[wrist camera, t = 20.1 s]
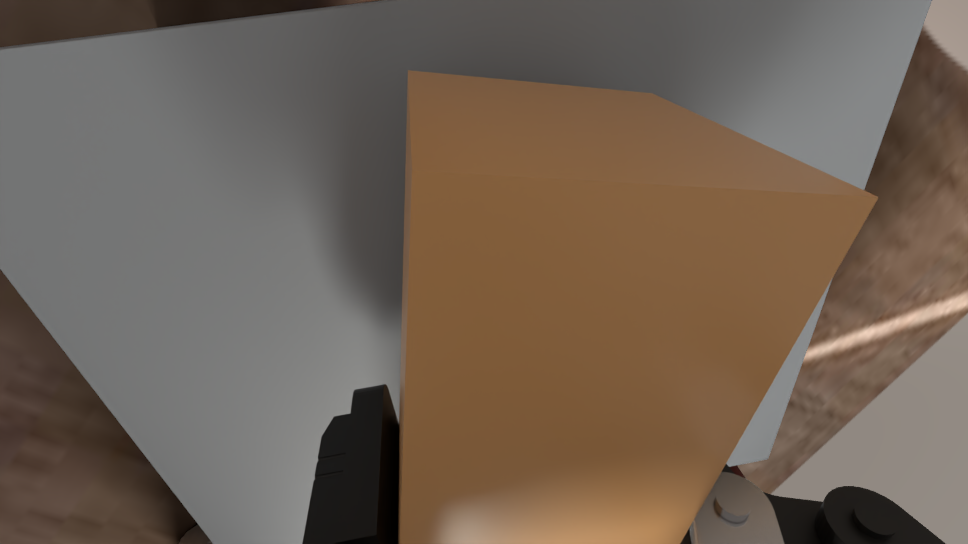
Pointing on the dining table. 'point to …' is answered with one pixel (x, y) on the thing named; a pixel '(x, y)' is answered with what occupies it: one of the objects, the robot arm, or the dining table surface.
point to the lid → (345, 197)
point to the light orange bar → (592, 306)
